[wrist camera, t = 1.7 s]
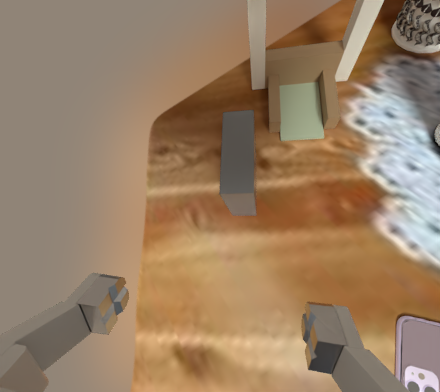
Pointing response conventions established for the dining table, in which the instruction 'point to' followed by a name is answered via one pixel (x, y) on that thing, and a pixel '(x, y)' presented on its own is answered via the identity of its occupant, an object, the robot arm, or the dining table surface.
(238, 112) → the slate tile
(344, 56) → the shelf
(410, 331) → the mobile phone
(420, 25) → the decorative candle
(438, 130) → the drinking glass
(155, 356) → the dining table surface
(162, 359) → the dining table surface
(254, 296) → the dining table surface
